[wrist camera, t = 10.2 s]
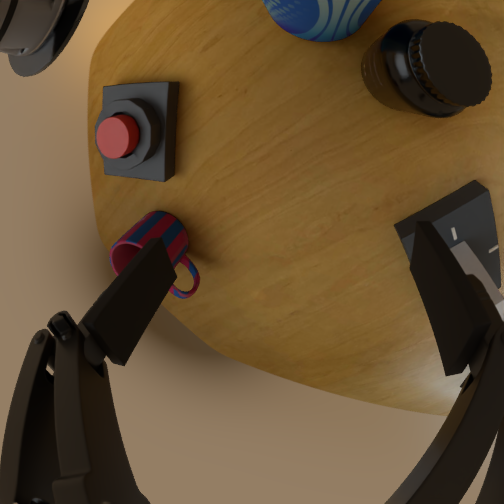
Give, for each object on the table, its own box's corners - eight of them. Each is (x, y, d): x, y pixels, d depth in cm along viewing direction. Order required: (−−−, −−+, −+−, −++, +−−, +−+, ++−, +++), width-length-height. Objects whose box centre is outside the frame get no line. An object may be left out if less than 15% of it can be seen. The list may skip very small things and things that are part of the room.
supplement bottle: (427, 49, 15) (501, 31, 5) (427, 116, 18) (504, 141, 8) (356, 34, 16) (393, -11, 6) (359, 104, 20) (402, 113, 10)
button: (107, 114, 21) (95, 117, 19) (140, 113, 20) (129, 116, 19) (108, 153, 23) (97, 158, 21) (139, 155, 23) (129, 160, 21)
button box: (115, 85, 22) (91, 87, 19) (179, 81, 21) (159, 81, 18) (115, 168, 28) (94, 180, 24) (174, 175, 27) (156, 188, 24)
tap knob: (449, 248, 22) (486, 313, 14) (464, 240, 21) (505, 301, 13) (459, 290, 24) (486, 353, 16) (472, 283, 23) (503, 343, 15)
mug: (155, 199, 29) (121, 227, 23) (221, 256, 31) (201, 295, 26) (132, 234, 32) (102, 264, 27) (191, 284, 35) (170, 321, 29)
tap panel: (393, 224, 25) (401, 240, 22) (474, 179, 20) (489, 190, 17) (426, 308, 30) (432, 326, 27) (491, 272, 24) (501, 287, 22)
